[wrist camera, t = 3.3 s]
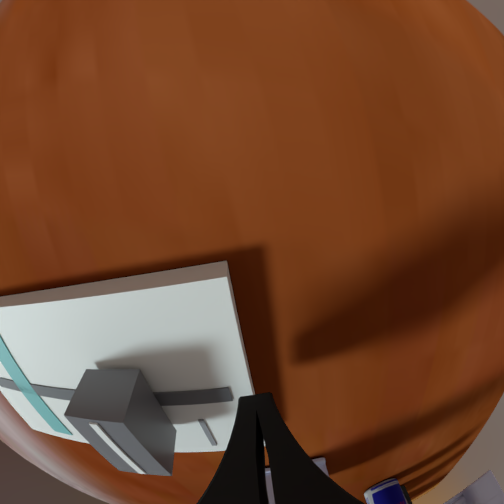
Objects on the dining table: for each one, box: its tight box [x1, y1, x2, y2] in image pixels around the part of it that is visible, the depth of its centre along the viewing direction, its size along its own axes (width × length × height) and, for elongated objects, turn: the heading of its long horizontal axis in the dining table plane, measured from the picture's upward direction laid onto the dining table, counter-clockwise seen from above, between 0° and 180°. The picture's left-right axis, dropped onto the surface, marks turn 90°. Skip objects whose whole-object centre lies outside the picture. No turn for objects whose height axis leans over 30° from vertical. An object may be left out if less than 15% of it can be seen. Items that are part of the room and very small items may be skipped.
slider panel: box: [0, 261, 265, 452], centre depth 12 cm, size 20×12×2 cm, turn 98°
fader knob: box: [64, 369, 177, 476], centre depth 9 cm, size 3×5×3 cm, turn 8°
